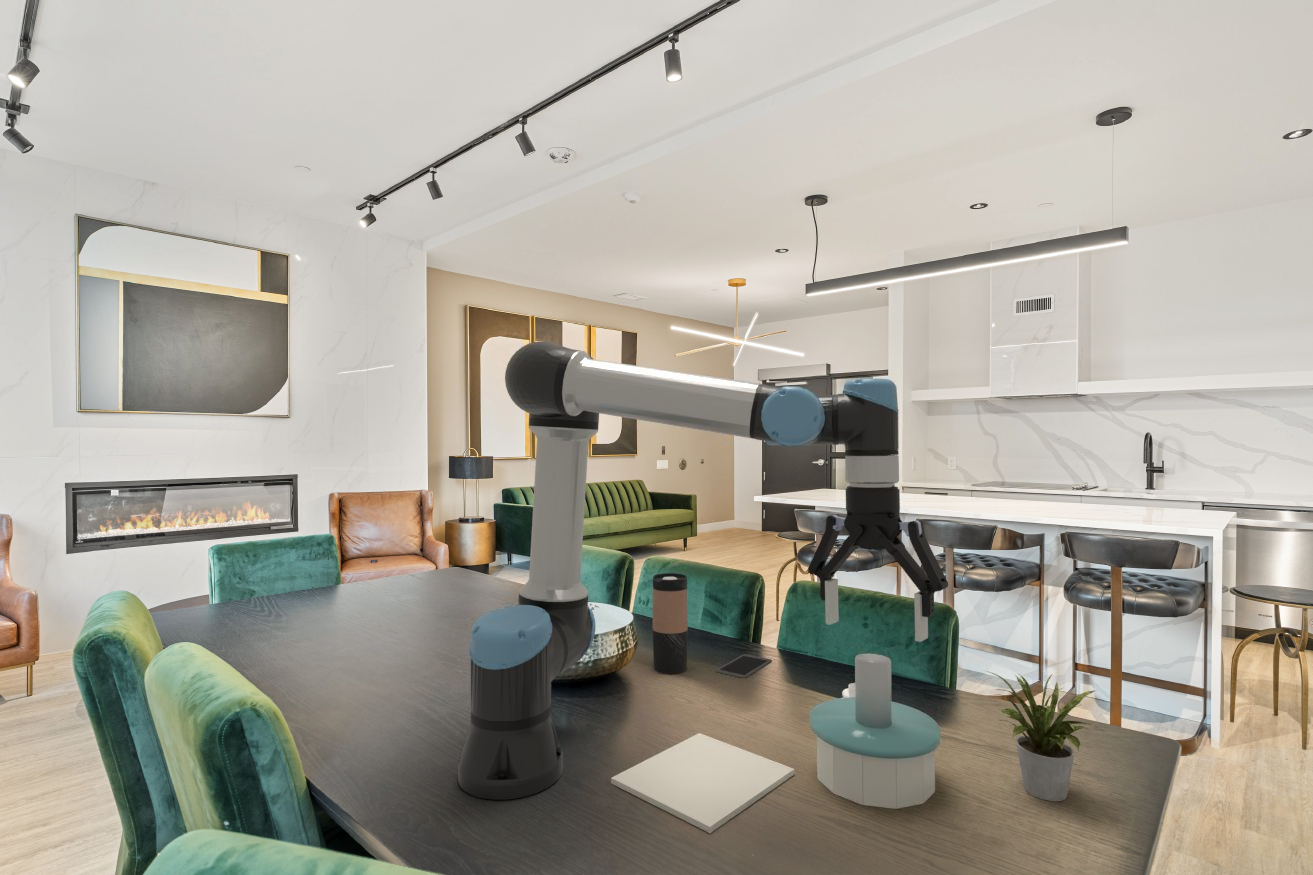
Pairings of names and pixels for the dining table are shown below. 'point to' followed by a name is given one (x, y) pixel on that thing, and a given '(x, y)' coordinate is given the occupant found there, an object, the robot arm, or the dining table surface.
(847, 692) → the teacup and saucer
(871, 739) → the lid
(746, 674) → the cell phone
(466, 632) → the dining table surface
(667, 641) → the travel mug
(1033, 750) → the house plant
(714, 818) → the mat
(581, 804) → the dining table surface
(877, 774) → the bowl
